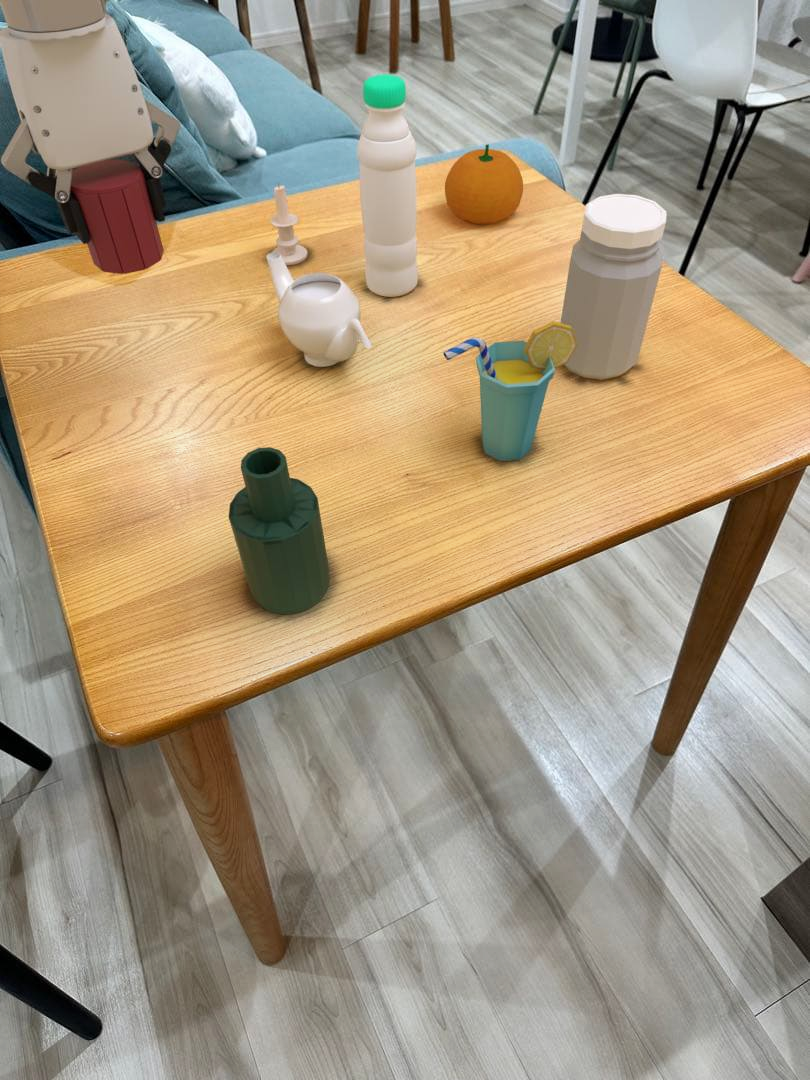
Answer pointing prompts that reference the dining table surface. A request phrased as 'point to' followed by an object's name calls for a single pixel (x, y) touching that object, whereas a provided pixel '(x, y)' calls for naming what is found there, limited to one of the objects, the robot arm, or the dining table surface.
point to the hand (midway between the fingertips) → (119, 225)
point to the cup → (516, 385)
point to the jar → (613, 283)
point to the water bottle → (388, 189)
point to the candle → (286, 230)
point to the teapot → (317, 314)
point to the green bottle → (279, 535)
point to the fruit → (484, 186)
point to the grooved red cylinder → (117, 216)
